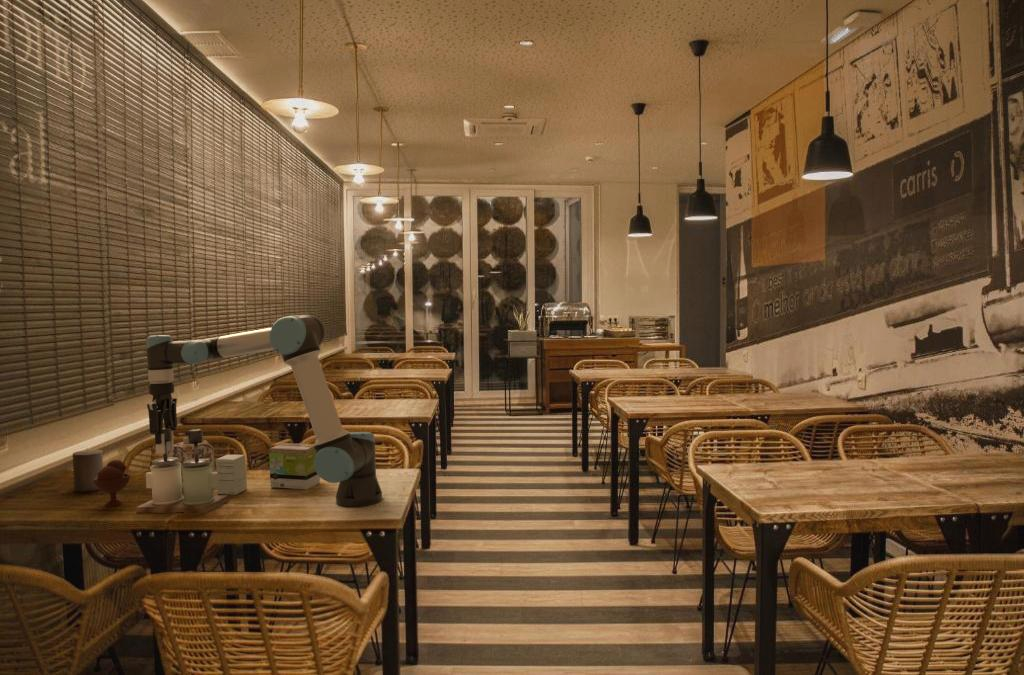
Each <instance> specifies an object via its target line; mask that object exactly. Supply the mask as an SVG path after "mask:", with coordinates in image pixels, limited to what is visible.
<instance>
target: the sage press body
mask: <svg viewBox="0 0 1024 675" xmlns="http://www.w3.org/2000/svg"><path fill="white" fill-rule="evenodd" d="M181 468H182V474H183V489H182V493H183V495H184V500H183V504H184V505H201V504H206V503H210V502H212V501H214V500H215V498H214V496H213V495H214V489H218V487H219V479H218V472H217V471H215V472H212V463H209V464H207V465H203V466H196V467H186V466H182V467H181Z"/></svg>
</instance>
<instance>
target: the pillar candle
mask: <svg viewBox="0 0 1024 675" xmlns="http://www.w3.org/2000/svg"><path fill="white" fill-rule="evenodd" d="M103 451H104V450H102V449H84V450H79V451H78V450H77V451H74V452H73V453H72V470H73V471H72V474H73V486H74V492H76V493H85V492H94V491H97V490H98V491H99V490H100V489H98V488H97V487H96V486H95V484H94V481H93V479H95V478H96V477H98V473H99V472H100V471H101V470H102V469H103V468H104V459H103V458H104V457H103V455H104V453H103Z"/></svg>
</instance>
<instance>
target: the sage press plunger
mask: <svg viewBox="0 0 1024 675" xmlns="http://www.w3.org/2000/svg"><path fill="white" fill-rule="evenodd" d="M203 432H204V431H203V429H202V428H195V429H189V430H188V431H187V437H188V443H189V444H194V455H195V459H194V460H189V461H185V462H184V466H186V467H196V466H203V465H207V464H209V463H210V460H209V459H199V456H198V443H202V442H203V440H204V438H203V437H204V436H203V435H204V434H203Z"/></svg>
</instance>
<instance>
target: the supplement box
mask: <svg viewBox="0 0 1024 675" xmlns="http://www.w3.org/2000/svg"><path fill="white" fill-rule="evenodd" d="M246 462H247V461H246V455H245V454H225V455H223V456H221V457H219V458H215V465H216V466H215V471H216V472H218V479H219V487H218V488H217V494H218V495H232V496H233V495H236V496H237V495H238V494H239V493H242V492H244V491H246V490H247V489H248V484H247V465H246Z"/></svg>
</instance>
